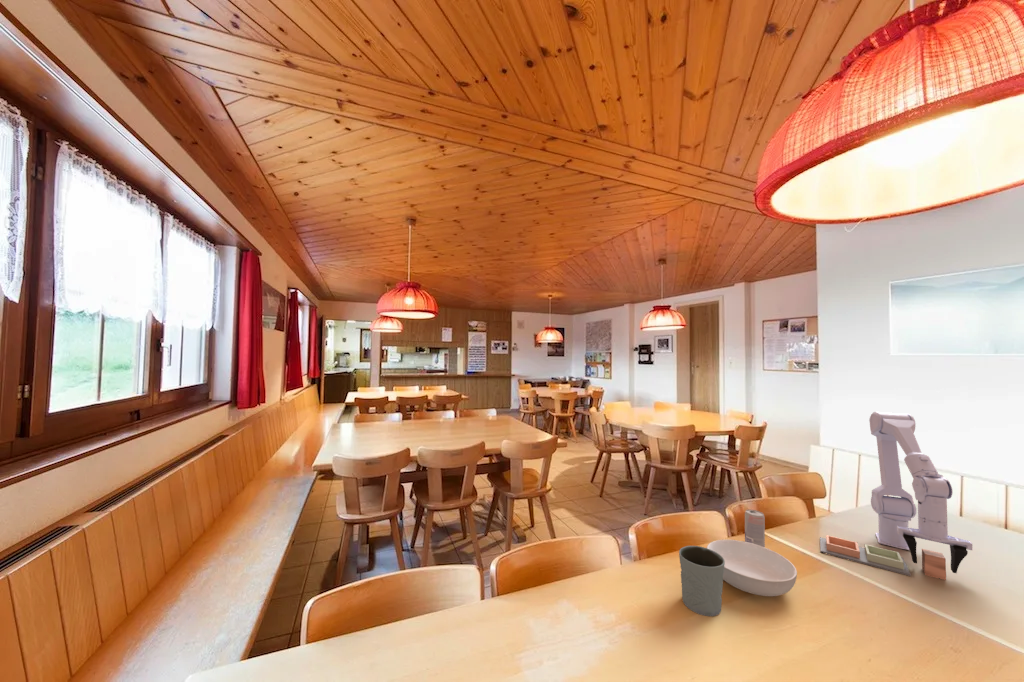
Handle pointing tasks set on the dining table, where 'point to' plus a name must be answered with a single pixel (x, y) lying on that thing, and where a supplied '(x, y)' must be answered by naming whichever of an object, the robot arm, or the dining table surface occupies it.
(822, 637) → the dining table surface
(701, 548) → the grey cup
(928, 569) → the terracotta block
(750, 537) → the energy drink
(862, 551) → the sorting board
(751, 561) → the serving bowl
